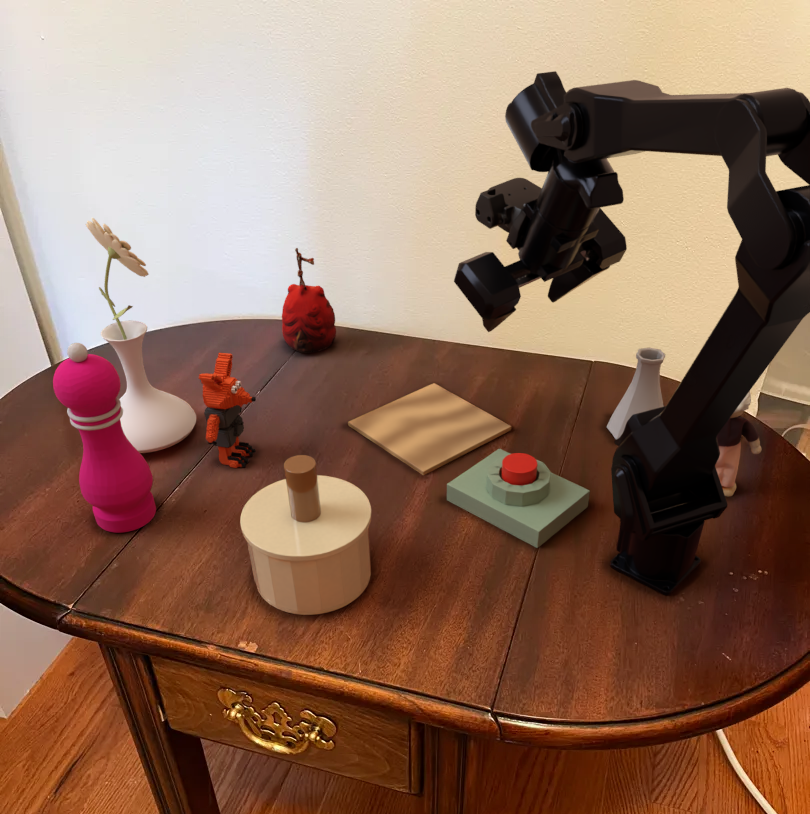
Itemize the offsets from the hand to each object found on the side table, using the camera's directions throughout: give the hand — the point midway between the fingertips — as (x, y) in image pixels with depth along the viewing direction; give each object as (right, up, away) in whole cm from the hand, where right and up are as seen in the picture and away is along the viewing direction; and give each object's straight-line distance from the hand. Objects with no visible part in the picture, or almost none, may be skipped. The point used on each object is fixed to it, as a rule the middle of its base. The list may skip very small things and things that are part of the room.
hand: (519, 313), depth 94 cm
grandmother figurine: (+20, -20, -3) cm, 28 cm away
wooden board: (-10, -12, +8) cm, 17 cm away
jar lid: (-22, -23, -16) cm, 36 cm away
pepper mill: (-43, -23, -4) cm, 48 cm away
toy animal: (-32, -16, +4) cm, 36 cm away
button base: (-1, -21, -4) cm, 22 cm away
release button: (-1, -19, -6) cm, 20 cm away
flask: (+15, -12, +6) cm, 20 cm away
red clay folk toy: (-26, +2, +25) cm, 36 cm away
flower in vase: (-44, -12, +8) cm, 46 cm away
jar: (-22, -29, -12) cm, 38 cm away
